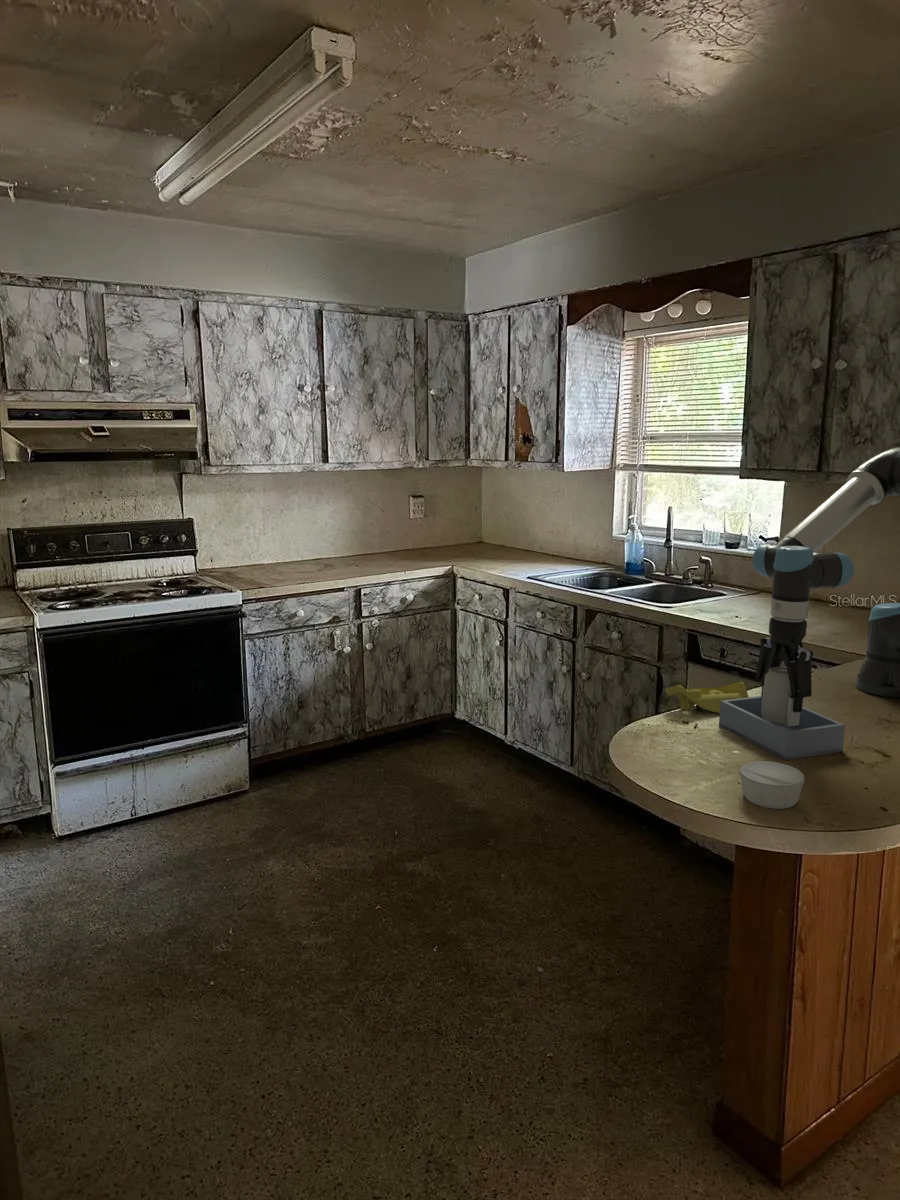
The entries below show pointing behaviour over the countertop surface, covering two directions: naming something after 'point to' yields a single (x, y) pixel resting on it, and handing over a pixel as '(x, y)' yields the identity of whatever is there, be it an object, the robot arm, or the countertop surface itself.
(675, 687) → the plastic component
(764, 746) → the bin
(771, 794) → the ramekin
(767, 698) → the can
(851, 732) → the countertop surface
